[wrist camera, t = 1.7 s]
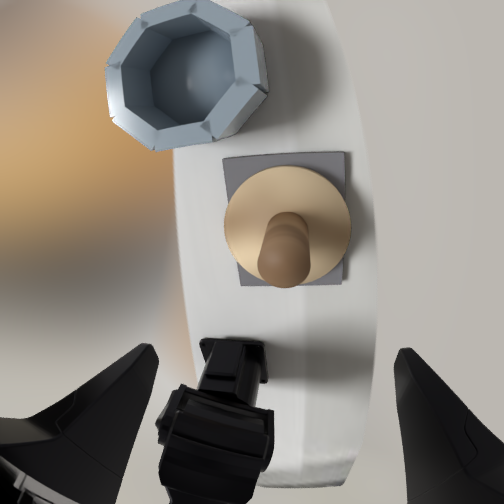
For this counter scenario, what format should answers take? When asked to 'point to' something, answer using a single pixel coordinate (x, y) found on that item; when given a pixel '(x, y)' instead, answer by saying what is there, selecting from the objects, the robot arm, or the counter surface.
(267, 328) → the counter surface
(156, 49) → the bowl
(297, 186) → the lid
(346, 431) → the counter surface
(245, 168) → the mat
